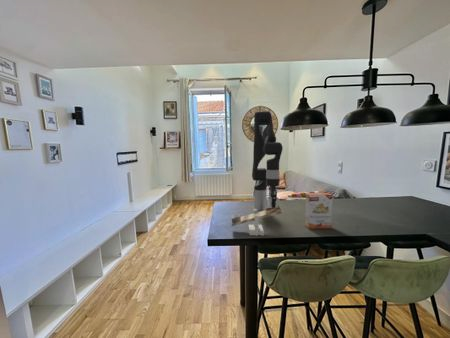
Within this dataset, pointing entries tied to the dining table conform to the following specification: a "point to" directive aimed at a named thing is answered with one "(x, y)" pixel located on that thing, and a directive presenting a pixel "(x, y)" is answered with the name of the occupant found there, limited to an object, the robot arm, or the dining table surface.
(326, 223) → the cracker box
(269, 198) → the block
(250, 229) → the pivot stand
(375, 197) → the dining table surface
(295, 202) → the dining table surface
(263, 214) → the beam
